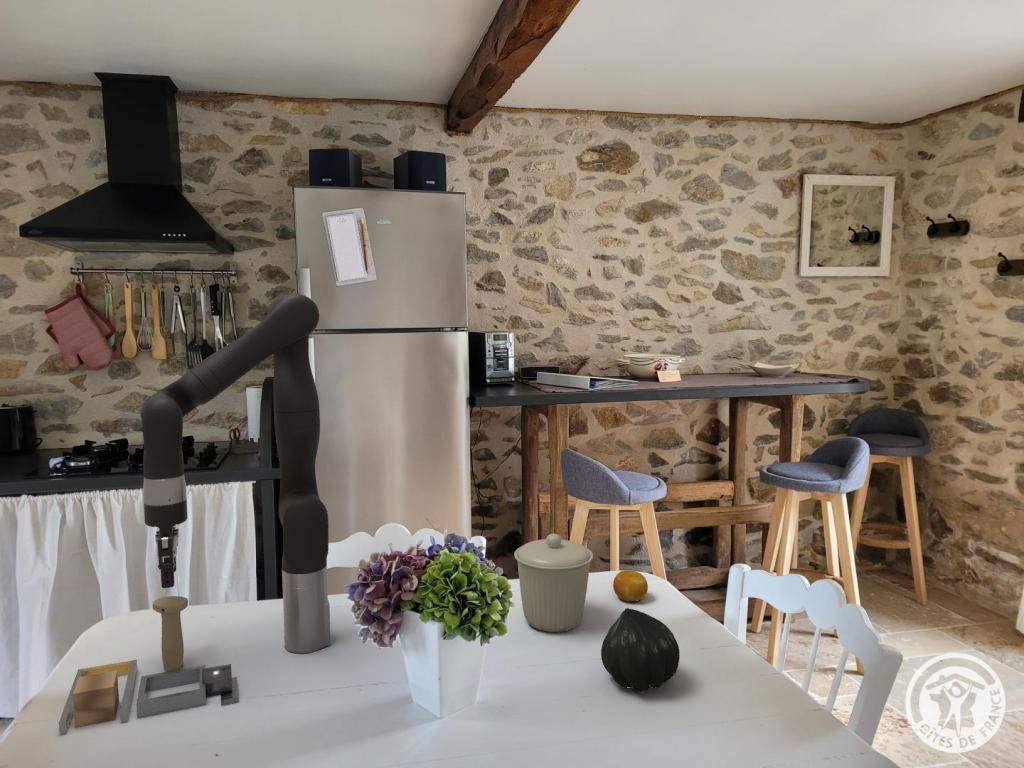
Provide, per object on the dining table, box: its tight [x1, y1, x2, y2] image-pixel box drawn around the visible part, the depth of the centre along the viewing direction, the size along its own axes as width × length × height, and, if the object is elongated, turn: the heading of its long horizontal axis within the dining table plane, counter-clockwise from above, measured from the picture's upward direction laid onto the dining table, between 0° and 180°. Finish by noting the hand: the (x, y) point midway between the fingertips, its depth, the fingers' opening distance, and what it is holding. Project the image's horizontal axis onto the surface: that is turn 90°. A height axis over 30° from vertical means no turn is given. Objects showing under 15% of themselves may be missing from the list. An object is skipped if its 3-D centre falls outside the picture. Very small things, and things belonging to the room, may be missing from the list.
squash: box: [600, 607, 681, 693], centre depth 139 cm, size 14×15×15 cm
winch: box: [136, 663, 240, 719], centre depth 132 cm, size 16×10×6 cm, turn 113°
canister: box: [514, 533, 594, 633], centre depth 164 cm, size 18×18×21 cm
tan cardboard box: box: [73, 671, 120, 728], centre depth 125 cm, size 6×6×6 cm
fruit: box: [612, 569, 649, 602], centre depth 179 cm, size 8×8×8 cm
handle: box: [152, 595, 189, 672], centre depth 141 cm, size 5×6×15 cm
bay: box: [58, 659, 138, 736], centre depth 130 cm, size 10×19×4 cm, turn 23°
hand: (169, 579), depth 140 cm, fingers open, 8 cm apart
